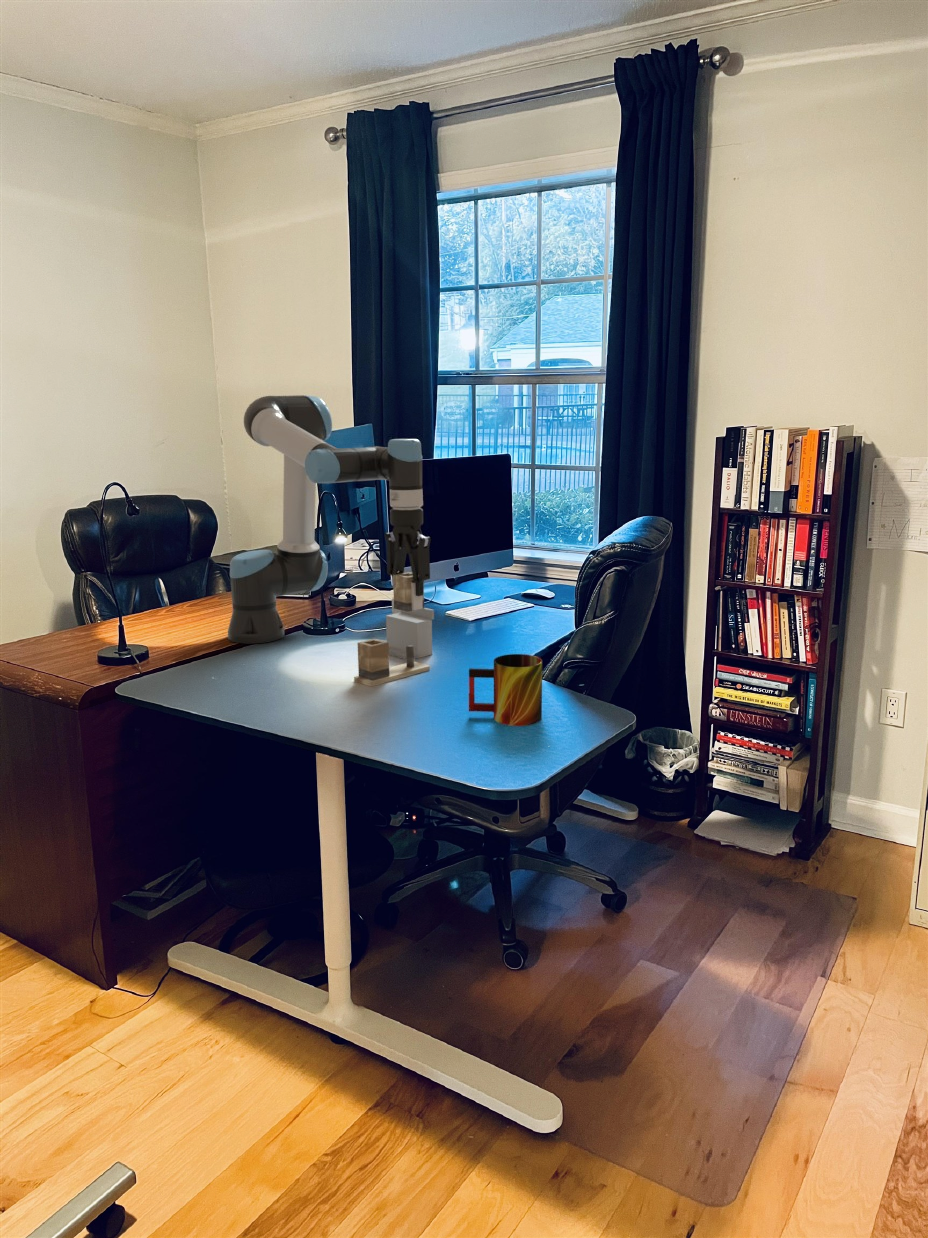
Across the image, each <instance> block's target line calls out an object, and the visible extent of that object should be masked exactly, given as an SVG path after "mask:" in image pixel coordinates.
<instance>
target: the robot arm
mask: <svg viewBox="0 0 928 1238" xmlns="http://www.w3.org/2000/svg"><path fill="white" fill-rule="evenodd" d="M332 421H333V420H332V415H331V412H330V409H329V408H328V406H327V404H326V403H325V402H324V400H323V399H322V398H321V397H318V396H313V395H301V394H300V395H299V394H298V395H266V396H261V397H258V398H256V399H255V400H254V401H252V402H251V403H250V404H249V405H248V407H247V408H246V410H245V412H244V415H243V427H244V430H245V432H246V434H247V435H248V436H249V438H250V439H251V440H253V441H254V442H255V443H257V444H258V445H260V446H264V447H271V448H273V449H275V450H276V451H278V452H279V453H281V454H283V496H282V499H283V500H282V503H283V505H282V508H283V510H282V513H283V514H282V517H283V518H282V539H281V541H280V542H278V544H277V545H276V546H277V547H276V554H275V553H273V551H272V550H271V549H259V550H257V549H256V550H249V551H245V552H241V553H239V554H236V555H235V556H234V557H232V558H231V560H230V562H229V577H230V589H231V590H230V591H231V601H232V602H231V604H232V614H231V617H230V622H229V625H228V630H227V639H228V640H229V641H230V642H233V643H236V644H237V643H238V644H245V645H246V644H251V645H252V644H265V643H271V642H274V641H278V640H281V639H283V638H284V637H285V627H284V626H285V625H284V624H283V621H282V619H281V616H280V614H279V612H278V609H277V597H283V596H290V595H295V594H296V595H297V594H306V593H309V592H310V593H311V592H314V591H317V590H319V589H320V588H321V587H323V585H324V584H325V582H326V580H327V577H328V570H329V566H328V561H327V557H326V555H325V553H324V551H322V550H321V548H320V545H319V544H318V543H317V541H316V540H315V532H316V530H315V528H316V527H315V526H316V525H315V524H316V493H317V492H316V490H317V486H316V484H325V485H330V484H336V483H347V482H348V483H349V482H364V481H376V480H377V481H378V480H379V481H388V482H389V505H390V507H391V508H390V510H389V514H390V515H389V518H390V520H389V521H390V522H389V523H390V525H391V526H393V528H392V531H391V532H385V534H384V539H385V542H386V543H385V544H386V573H387V575H388V576H391V577H392V578H393V575H396V574H401V573H405V568H406V567H405V565H406V559H407V554H408V558H409V559H408V560H409V563H410V569H411V573H412V575H413V581H411V597H412V610H418V609H423V601H422V595H423V594H424V595H425V592H424V591H425V588H424V589H423V582H424V583H425V581H427V580H430V579H431V565H430V564H431V563H430V558H431V557H430V546H431V540H432V539H431V537H430V536H425V535H423V533H422V529H421V526H422V525H423V524H424V509H423V508H422V507H423V506H424V500H423V499H424V498H423V497H424V495H423V455H422V453H423V452H422V443H421V441H420V440H419V439H417V438H394V439H392V438H391V439H390V440H388V443H387V447H386V446H385V447H384V446H379V445H374V446H370V445H369V446H367V447H347V448H345V447H344V448H343V447H342V448H337V447H335V446H333V445H332V444H329V443H327V442H326V440H328V439H329V438H330V437H331V434H332V430H333V422H332ZM418 575H419V576H418Z"/></svg>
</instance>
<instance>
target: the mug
mask: <svg viewBox="0 0 928 1238" xmlns="http://www.w3.org/2000/svg"><path fill="white" fill-rule="evenodd" d="M475 678H481V679H482V678H484V679H485V678H486V679H493V703H491V702H487V703H486V702H475ZM542 707H543V659H542V658H541V657H539V656H537V655H536V656H535V655H533V654H532V655H531V654H523V653H510V654H503V655H500V656H497V657H495V658H494V659H493V668H472V667H471V668H469V669H468V712H486V713H487V712H488V713H493V720H494V721H496V722H497V723H499V724H501V725H504V726H505V725H506V726H510V727H511V726H512V727H525V726H527V727H528V726H532V725H535V724H539V722H541V721H542V716H543V713H542V712H543V709H542Z"/></svg>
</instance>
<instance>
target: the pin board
mask: <svg viewBox="0 0 928 1238" xmlns="http://www.w3.org/2000/svg"><path fill="white" fill-rule="evenodd" d="M405 661H406V662H405V663H401V664H397V665H394V666H389V674H390V676H388V677H385V678H381V679H377V680H374V681H372V680H368V679H365V678H362V677H359V675H356V676H353V681H354V682H355V683H358V684H361V685H365V686H368V687H374V686H377V685H381V684H385V683H389V682H392V681H395V680H399V679H402V678H403V679H404V678H406V677H410V676H413V675H417V674H420V673H425V672H427V671H428V672H429V671H430V669H431V665H427V664H424V663H420V662H417V661H415V659H414V646H413V645H408V646H406V660H405Z"/></svg>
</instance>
